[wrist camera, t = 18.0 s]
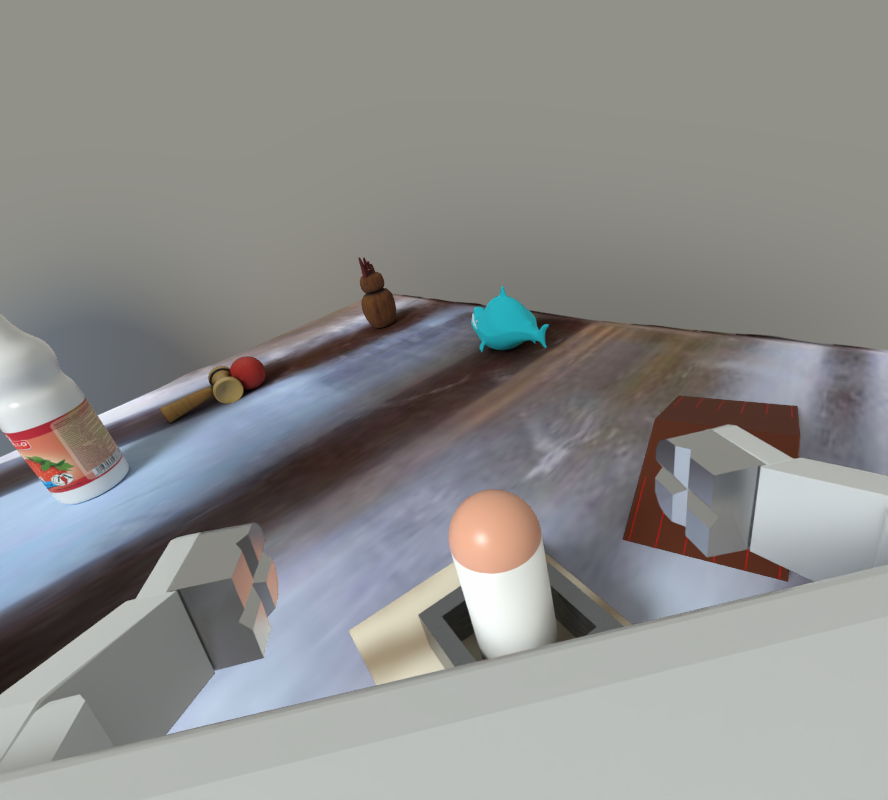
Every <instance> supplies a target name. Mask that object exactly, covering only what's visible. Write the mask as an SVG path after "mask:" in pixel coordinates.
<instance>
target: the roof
mask: <svg viewBox="0 0 888 800" xmlns="http://www.w3.org/2000/svg"><path fill="white" fill-rule="evenodd" d="M728 424H729V425H736V426H738V427H740V428H741V429H743V430H745V431H746V432H748V433H750V434H752V435H753V436H755V437H757V438H759V439H760V440H762V441H764V442H765V443H767V444H769V445H771V446H772V447H774V448H776V449H777V450H779V451H781V452H783V453H784V454H786V455H788V456H790V457H791V458H793V459H797V458H798V455H799V443H800V429H799V419H798V408H797V406H790V405H778V404H767V403H756V402H745V401H733V400H722V399H711V398H699V397H688V396H678V397H677V398H676V399H675V400H674V401H673V402H672V403H671V404H670V405H669V406H668V407H667V408H666V409H665V410H664V411H663V412H662V413H661V414H660V415H659V416H658V417H657V418H656V419H655V422H654V425H653V429H652V433H651V436H650V440H649V444H648V448H647V451H646V455H645V459H644V462H643V466H642V470H641V474H640V477H639V481H638V485H637V488H636V492H635V496H634V500H633V503H632V507H631V511H630V514H629V518H628V522H627V526H626V529H625V533H624V537H623V540H626V541H630V542H634V543H638V544H642V545H646V546H650V547H654V548H658V549H661V550H665V551H669V552H673V553H677V554H681V555H685V556H689V557H693V558H697V559H701V560H705V561H709V562H713V563H717V564H720V565H724V566H728V567H732V568H736V569H740V570H744V571H748V572H752V573H756V574H760V575H764V576H768V577H772V578H775V579H779V580H783V581H787V582H788V573H789V569H787V568H784V567H782V566H780V565H778V564H776V563H774V562H772V561H770V560H768V559H765V558H763V557H761V556H759V555H757V554H755V553H753V552H751V551H750V549H747V550H742V551H737V552H732V553H727V554H722V555H717V556H712V557H706V556H705V555H704V554H703V553H702V552H701V551H700V550H699V549H698V548H697V547H696V546H695V545H694V544H693V543H692V542H691V541H690V540H689V539H688V538H687V537H686V536H685V531H686V527H685V526H683V525H680V524H677V523H675V522H672V521H671V520H670V519H669V518H668V517H667V516H666V515H665V514H664V512H663V510H662V509H661V507H660V505H659V503H658V499H657V496H656V493H655V477H656V476H657V474H658V473H659V471H660V470H661V468H662V466H661V465H660V464H659V462H658V461H657V460H656V448H657V445H658V442H659V441H661V440H665V439H669V438H674V437H678V436H682V435H687V434H691V433H695V432H700V431H704V430H707V429H712V428H716V427H720V426H724V425H728Z"/></svg>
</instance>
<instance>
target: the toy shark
mask: <svg viewBox="0 0 888 800" xmlns="http://www.w3.org/2000/svg"><path fill="white" fill-rule="evenodd" d="M471 324H472V326H473V328H474V330H475V332H476V333H477V335H478V337H479V338H480V340H481V341H482V342H481V344H480V350H481V352H483V349H484V347H485V345H486V346H488V347H490V348H492V349H495V350H509V349H512V348H515V347H517V346H518V345H520V344H522V343H523V342H524V341H529V340H531V341H532V342H534V343H535V341H539V342H540V343H541V344H542V345H543V347H545V348H546V343H545V332H546V329H547V328H548V326H549V325H548V324H545V325H543V326H542V327H541V329H540V330H539V329H538V327H537V323H536V318H535V317H534V315H533V314H532V313H531V312H530V311H529V310H528V309H526V308H525V307H524V306H523V305H522V304H521V303H520V302H518V301H517V300H515V299H513V298H511V297H508V296H507V295H506V293H505V290H504V286H502V288H501V291H500V295H499V296H497V297H495V298H493V299H492V300H491V301H490V302H489V303H488V305H487V306H486V308H485V310H484V308H481V307H474V314H472V320H471ZM535 344H536V343H535Z"/></svg>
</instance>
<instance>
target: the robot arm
mask: <svg viewBox="0 0 888 800" xmlns="http://www.w3.org/2000/svg"><path fill="white" fill-rule="evenodd" d="M656 460H657V461H658V462H659V464H660V465H661V466H662V468H661V470H660V471H659V473H658V474H657V476H656V477H655V493H656V496H657V499H658V503H659V505H660V507H661V509H662V510H663V512H664V514H665V515H666V516H667V517H668V518H669V519H670V520H671V521H672V522H675V523H677V524H680V525H683V526H685V527H686V531H685V536H686V537H687V538H688V539H689V540H690V541H691V542H692V543H693V544H694V545H695V546H696V547H697V548H698V549H699V550H700V551H701V552H702V553H703V554H704V555H705V556H706V557H712V556H717V555H722V554H727V553H732V552H737V551H742V550H747V549H750V551H751V552H753V553H755V554H757V555H759V556H761V557H763V558H765V559H768V560H770V561H772V562H774V563H776V564H778V565H780V566H782V567H784V568H787V569H789V570H791V571H793V572H795V573H797V574H799V575H801V576H803V577H806V578H808V579H810V580H812V581H814V582H812V583H808V584H803V585H799V586H795V587H791V588H786V589H782V590H778V591H774V592H769V593H765V594H761V595H757V596H752V597H748V598H744V599H740V600H735V601H731V602H727V603H723V604H718V605H714V606H710V607H706V608H701V609H697V610H693V611H689V612H684V613H680V614H676V615H672V616H667V617H663V618H659V619H655V620H650V621H646V622H642V623H638V624H633V625H629V626H625V627H621V628H616V629H612V630H608V631H604V632H599V633H595V634H591V635H587V636H583V637H578V638H574V639H570V640H566V641H562V642H557V643H553V644H549V645H545V646H541V647H536V648H532V649H528V650H524V651H520V652H515V653H511V654H507V655H503V656H499V657H494V658H490V659H486V660H482V661H477V662H473V663H469V664H465V665H460V666H456V667H452V668H448V669H444V670H439V671H435V672H431V673H427V674H422V675H418V676H414V677H410V678H405V679H401V680H397V681H393V682H388V683H384V684H380V685H376V686H371V687H367V688H363V689H359V690H354V691H350V692H346V693H342V694H337V695H333V696H329V697H325V698H320V699H316V700H312V701H308V702H303V703H299V704H295V705H291V706H286V707H282V708H278V709H274V710H270V711H265V712H261V713H257V714H253V715H248V716H244V717H240V718H236V719H231V720H227V721H223V722H219V723H214V724H210V725H206V726H202V727H197V728H193V729H189V730H185V731H180V732H176V733H172V734H168V735H166V734H167V733H168V732H169V730H170V729H171V728H172V727H173V725H174V724H175V723H176V722H177V720H178V719H179V718H180V717H181V715H182V714H183V713H184V712H185V710H186V709H187V708H188V706H189V705H190V704H191V703H192V701H193V700H194V699H195V698H196V696H197V695H198V694H199V693H200V691H201V690H202V689H203V688H204V686H205V685H206V684H207V683H208V681H209V680H210V679H211V678H212V676H213V675H214V674H215V672H214V671H215V670H219V669H223V668H227V667H231V666H235V665H238V664H242V663H246V662H250V661H254V660H258V659H262V658H264V655H265V651H266V647H267V643H268V638H269V634H270V630H271V626H270V623H269V620H268V618H267V617H268V616H269V615H270V614H271V613H272V612H273V610H274V609H275V608H276V604H277V599H278V578H277V573H276V568H275V565H274V562H273V559H272V558H271V557H269V556H268V555H266V554H265V553H263V552H262V551H263V548H264V544H265V541H266V540H265V537H264V535H263V532H262V530H261V527H260V526H259V525H258V524H257V523H250V524H245V525H239V526H234V527H228V528H223V529H217V530H212V531H207V532H203V533H195V534H191V535H186V536H181V537H177V538H175V539H173V540H171V541H170V543H169V544H168V546H167V548H166V549H165V551H164V553H163V554H162V556H161V558H160V559H159V561H158V563H157V564H156V566H155V568H154V569H153V571H152V572H151V574H150V576H149V577H148V579H147V581H146V582H145V584H144V586H143V587H142V589H141V591H140V592H139V594H138V596H137V597H136V599H134V600H130V601H126V602H124V603H123V604H122V605H120V606H119V607H118V608H116V609H115V610H114V611H112V612H111V613H110V614H108V615H107V616H106V617H104V618H103V619H102V620H100V621H99V622H98V623H96V624H95V625H93V626H92V627H91V628H89V629H88V630H87V631H85V632H84V633H83V634H81V635H80V636H79V637H77V638H76V639H75V640H73V641H72V642H71V643H69V644H68V645H67V646H65V647H64V648H62V649H61V650H60V651H58V652H57V653H56V654H54V655H53V656H52V657H50V658H49V659H48V660H46V661H45V662H44V663H42V664H41V665H40V666H38V667H37V668H36V669H34V670H33V671H31V672H30V673H29V674H27V675H26V676H25V677H23V678H22V679H21V680H19V681H18V682H17V683H15V684H14V685H13V686H11V687H10V688H9V689H7V690H6V691H5V692H3V693H2V694H0V800H888V476H887V475H882V474H877V473H872V472H868V471H863V470H858V469H853V468H849V467H844V466H839V465H834V464H830V463H825V462H820V461H815V460H811V459H806V458H797V459H793V458H791V457H790V456H788V455H786V454H784V453H783V452H781V451H779V450H777V449H776V448H774V447H772V446H771V445H769V444H767V443H765V442H764V441H762V440H760V439H759V438H757V437H755V436H753V435H752V434H750V433H748V432H746V431H745V430H743V429H741V428H740V427H738V426H736V425H729V424H728V425H724V426H720V427H716V428H712V429H707V430H704V431H700V432H695V433H691V434H687V435H682V436H678V437H674V438H669V439H665V440H661V441H659V442H658V445H657V448H656Z"/></svg>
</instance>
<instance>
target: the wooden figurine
mask: <svg viewBox="0 0 888 800" xmlns="http://www.w3.org/2000/svg"><path fill="white" fill-rule="evenodd" d="M363 261H364V264H363V262H362V261H361V259H360V258H359V262H360V266H361V270H362V274H363V276H362V277H361V279H360V286H361V289H362V290H363V291H364V292H365V293H367V294H365V295H364V297H363V299H362V309H363V312H364V315H365V317H366V319H367V320H368V322H369V323H370V324H371V325H372V326H373V327H375V328H384V327H387V326H389V325H391V324H392V323H393V322H394V321H395V317H396V306H395V301H394V298H393V295H392V293H391V292H390V291H389V290H388V289H386V288H383V287H384V279H383V277H382V275H381V274H380V273H378V272H375V270H374V268H373V265H372V264H369V262H366V260H365V258H363Z"/></svg>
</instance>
